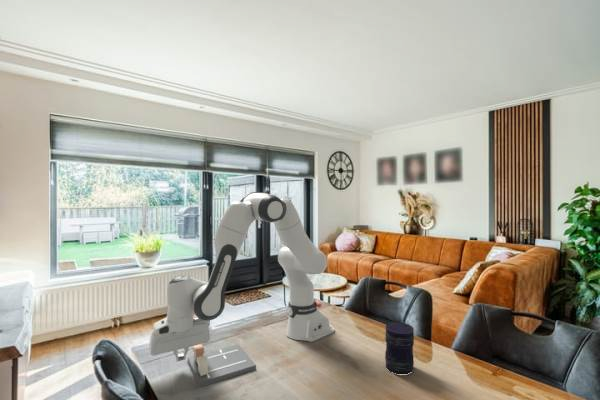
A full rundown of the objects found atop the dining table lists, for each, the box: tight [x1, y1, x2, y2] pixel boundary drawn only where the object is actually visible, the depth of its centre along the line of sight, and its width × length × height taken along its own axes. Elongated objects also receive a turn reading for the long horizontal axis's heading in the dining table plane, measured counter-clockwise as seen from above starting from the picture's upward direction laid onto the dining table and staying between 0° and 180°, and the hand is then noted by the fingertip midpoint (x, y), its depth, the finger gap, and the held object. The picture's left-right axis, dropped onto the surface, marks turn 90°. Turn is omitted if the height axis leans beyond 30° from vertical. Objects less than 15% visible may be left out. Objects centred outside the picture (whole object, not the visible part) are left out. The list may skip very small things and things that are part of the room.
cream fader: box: [197, 355, 209, 376], centre depth 108 cm, size 3×4×5 cm
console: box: [187, 344, 257, 388], centre depth 115 cm, size 20×18×2 cm
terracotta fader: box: [192, 344, 205, 363], centre depth 116 cm, size 3×4×5 cm
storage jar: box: [384, 321, 415, 374], centre depth 114 cm, size 10×10×15 cm
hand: (180, 359), depth 112 cm, fingers closed
